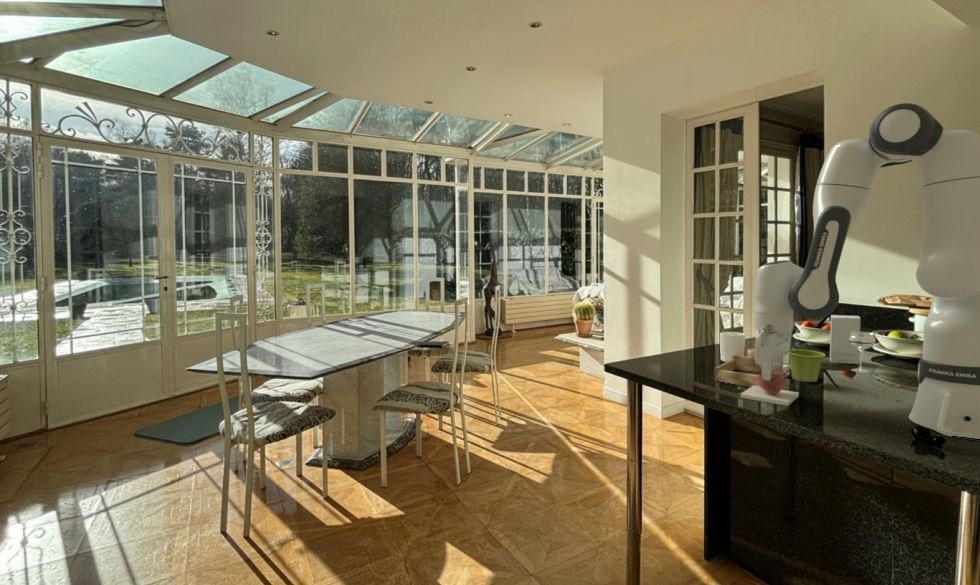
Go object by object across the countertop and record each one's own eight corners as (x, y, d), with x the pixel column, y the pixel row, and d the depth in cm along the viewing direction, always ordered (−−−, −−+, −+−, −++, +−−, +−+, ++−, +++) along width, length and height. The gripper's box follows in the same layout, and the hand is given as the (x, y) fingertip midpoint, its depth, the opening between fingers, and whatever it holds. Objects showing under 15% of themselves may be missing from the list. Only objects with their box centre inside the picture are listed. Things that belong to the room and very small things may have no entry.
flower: (781, 376, 130) (779, 360, 133) (749, 384, 135) (748, 368, 139) (795, 396, 132) (793, 380, 136) (763, 403, 137) (762, 387, 141)
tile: (798, 396, 136) (798, 392, 136) (787, 406, 128) (787, 402, 128) (753, 388, 144) (753, 385, 143) (740, 397, 135) (740, 393, 135)
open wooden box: (782, 377, 155) (783, 361, 154) (766, 389, 142) (766, 372, 142) (733, 370, 164) (733, 355, 164) (714, 381, 152) (714, 364, 151)
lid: (795, 367, 167) (796, 364, 167) (782, 377, 155) (783, 373, 155) (749, 361, 176) (749, 358, 176) (733, 370, 164) (733, 366, 164)
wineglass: (879, 373, 159) (881, 334, 158) (857, 373, 159) (859, 334, 158) (863, 368, 166) (865, 331, 164) (842, 368, 166) (844, 331, 164)
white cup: (747, 365, 170) (748, 336, 169) (721, 365, 172) (722, 335, 171) (740, 360, 178) (741, 332, 177) (716, 359, 180) (717, 331, 179)
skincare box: (858, 361, 175) (860, 315, 173) (859, 365, 169) (862, 318, 168) (828, 358, 179) (830, 314, 178) (829, 362, 174) (831, 316, 172)
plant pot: (817, 378, 153) (818, 350, 152) (828, 387, 144) (830, 356, 143) (782, 377, 156) (783, 348, 155) (791, 385, 147) (792, 355, 146)
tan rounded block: (764, 365, 167) (765, 349, 166) (758, 367, 164) (758, 351, 164) (751, 362, 170) (751, 347, 170) (744, 365, 168) (744, 349, 167)
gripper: (776, 329, 124) (775, 386, 125) (796, 319, 139) (794, 370, 140) (748, 327, 128) (747, 382, 129) (770, 318, 143) (769, 367, 144)
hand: (772, 375), depth 135 cm, fingers open, 8 cm apart
